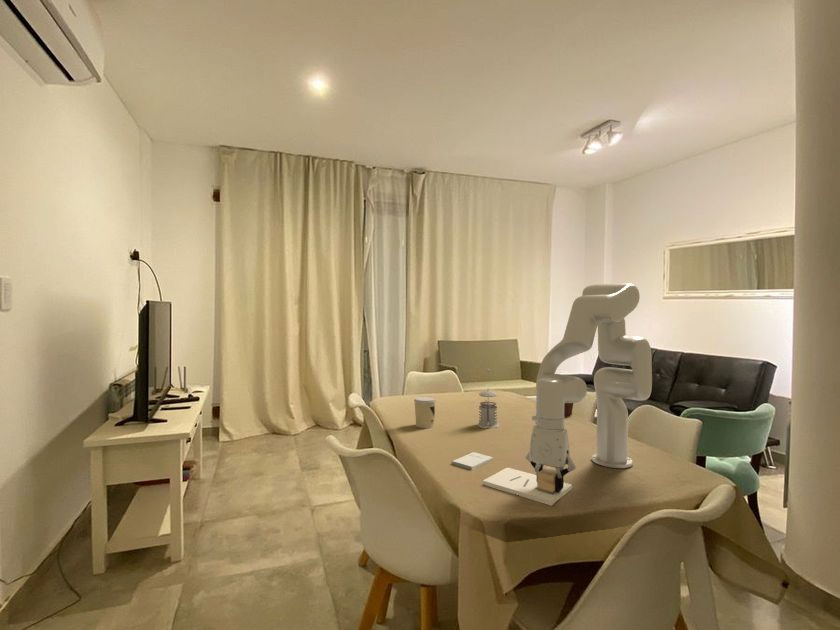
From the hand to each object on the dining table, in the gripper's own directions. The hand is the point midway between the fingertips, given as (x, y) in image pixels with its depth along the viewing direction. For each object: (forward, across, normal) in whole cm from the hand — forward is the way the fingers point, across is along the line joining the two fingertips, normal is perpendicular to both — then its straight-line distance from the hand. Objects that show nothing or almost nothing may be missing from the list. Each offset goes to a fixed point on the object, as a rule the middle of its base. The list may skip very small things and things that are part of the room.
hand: (549, 487), depth 123 cm
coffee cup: (+2, -72, +31) cm, 78 cm away
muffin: (+2, -35, +90) cm, 97 cm away
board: (+2, -7, 0) cm, 7 cm away
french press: (+2, -51, +49) cm, 71 cm away
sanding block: (0, 0, 0) cm, 0 cm away
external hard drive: (+2, -31, +7) cm, 31 cm away
